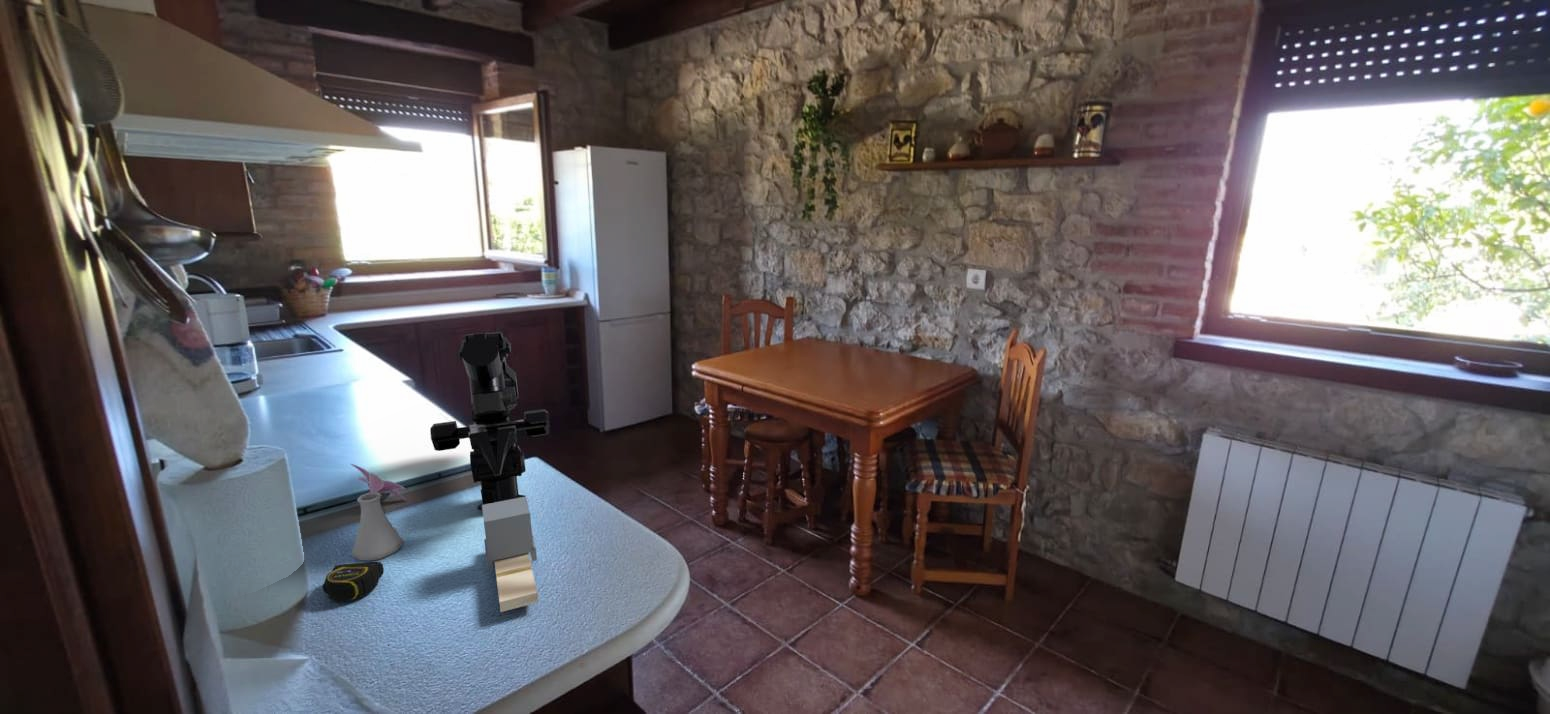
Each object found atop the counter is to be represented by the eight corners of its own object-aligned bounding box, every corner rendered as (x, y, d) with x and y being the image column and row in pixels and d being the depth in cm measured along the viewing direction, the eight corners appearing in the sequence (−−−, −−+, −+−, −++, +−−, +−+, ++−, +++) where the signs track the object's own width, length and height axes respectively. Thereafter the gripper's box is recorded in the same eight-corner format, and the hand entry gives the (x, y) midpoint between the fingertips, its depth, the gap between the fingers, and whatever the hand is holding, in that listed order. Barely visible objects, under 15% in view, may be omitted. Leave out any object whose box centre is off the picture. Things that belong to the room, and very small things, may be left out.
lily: (409, 518, 119) (420, 471, 122) (342, 513, 113) (355, 463, 115) (396, 514, 128) (407, 470, 130) (332, 510, 121) (345, 463, 123)
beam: (493, 550, 107) (491, 534, 106) (524, 543, 109) (523, 527, 108) (501, 621, 90) (499, 602, 89) (539, 611, 92) (537, 592, 91)
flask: (379, 564, 103) (370, 509, 101) (342, 559, 105) (331, 504, 102) (412, 541, 110) (404, 488, 107) (377, 536, 111) (368, 484, 109)
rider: (486, 552, 104) (479, 505, 101) (532, 542, 107) (527, 496, 104) (487, 571, 98) (481, 522, 96) (536, 560, 101) (531, 512, 99)
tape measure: (387, 577, 100) (384, 556, 99) (369, 604, 94) (365, 582, 93) (339, 581, 99) (335, 560, 98) (317, 609, 92) (312, 586, 91)
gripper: (423, 378, 104) (428, 467, 97) (543, 365, 111) (556, 447, 105) (432, 408, 113) (438, 491, 106) (543, 395, 120) (554, 471, 114)
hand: (497, 474), depth 107 cm, fingers closed
